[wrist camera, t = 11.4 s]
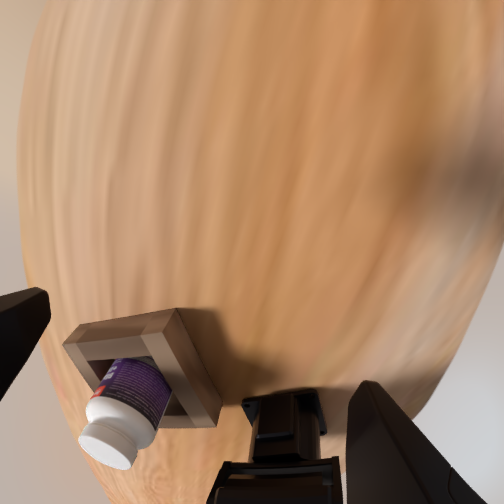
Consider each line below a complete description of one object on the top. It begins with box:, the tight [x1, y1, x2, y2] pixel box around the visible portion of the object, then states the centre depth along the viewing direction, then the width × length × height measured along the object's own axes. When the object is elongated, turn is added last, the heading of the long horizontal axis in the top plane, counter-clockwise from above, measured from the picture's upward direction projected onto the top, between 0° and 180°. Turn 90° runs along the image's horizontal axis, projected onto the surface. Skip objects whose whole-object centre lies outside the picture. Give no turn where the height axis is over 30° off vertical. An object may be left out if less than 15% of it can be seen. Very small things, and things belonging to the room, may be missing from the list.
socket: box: [62, 308, 223, 428], centre depth 24 cm, size 10×10×3 cm
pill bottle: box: [79, 355, 173, 470], centre depth 20 cm, size 5×5×10 cm
